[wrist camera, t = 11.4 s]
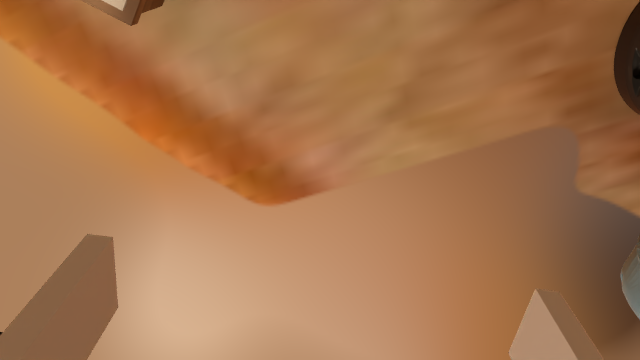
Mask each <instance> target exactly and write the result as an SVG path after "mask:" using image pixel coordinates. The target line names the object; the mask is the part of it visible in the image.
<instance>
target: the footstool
mask: <svg viewBox="0 0 640 360" xmlns="http://www.w3.org/2000/svg"><path fill="white" fill-rule="evenodd" d="M82 1H83V2H85V3H87V4H89V5H91V6H93V7H95V8H97V9H99V10H101V11H103V12H105V13H107V14H109V15H111V16H113V17H115V18H117V19H118V20H120V21H122V22H124V23H126V24H128V25H130V26H132V25H134V24H137V23H138V21H139V18H140V15H141V13H143V12H146V11H149V10H152V9H155V8H157V7H160V6H162V4H163V2H164V0H82Z"/></svg>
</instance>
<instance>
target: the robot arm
mask: <svg viewBox="0 0 640 360" xmlns="http://www.w3.org/2000/svg"><path fill="white" fill-rule="evenodd" d="M614 75H615V81H616V85H617V88H618V91H619V93H620V95H621V97H622V98H623V100H624V101H625V102H626V104H627V105H628V106H629V107H630V108H631V109H632V110H634V111H635V112H636V113H638V114H640V3H639V4H638V6H637V7H636V8H635V10H634V11H633V12H632V14H631V16H630V17H629V19H628V21H627V22H626V24H625V26H624V28H623V30H622V33H621V35H620V38H619V41H618V44H617V47H616V52H615V59H614ZM621 281H622V290H623V293H624V295H625V297H626V299H627V301H628V303H629V305H630V306H631V308H632V309H633V311H634V313H635V314H636V315H637V317H638V318H639V319H640V235H639V237H638V239H637V245H636V246H635V248H634V249H633V251H632V252H631V254H630V255H629V257H628V258H627V260H626V261H625V263H624V265H623V267H622V270H621ZM117 308H118V300H117V287H116V273H115V260H114V247H113V237H107V236H99V235H90V234H87V235H86V236H85V237H84V238H83V240H82V241H81V242H80V243H79V244H78V246H77V247H76V248H75V249H74V250H73V251H72V252H71V254H70V255H69V256H68V257H67V258H66V259H65V261H64V262H63V263H62V264H61V265H60V266H59V268H58V269H57V270H56V271H55V272H54V273H53V275H52V276H51V277H50V278H49V279H48V280H47V282H46V283H45V284H44V285H43V286H42V288H41V289H40V290H39V291H38V292H37V293H36V294H35V296H34V297H33V298H32V299H31V300H30V301H29V303H28V304H27V305H26V306H25V307H24V308H23V310H22V311H21V312H20V313H19V314H18V316H17V317H16V318H15V319H14V320H13V321H12V322H11V324H10V325H9V326H8V327H7V328H6V329H5V331H4V332H0V360H87V358H88V357H89V355H90V354H91V352H92V350H93V348H94V347H95V345H96V343H97V342H98V340H99V338H100V337H101V335H102V333H103V332H104V330H105V328H106V327H107V325H108V323H109V322H110V320H111V318H112V317H113V315H114V313H115V311H116V310H117ZM509 355H510V357H511V360H604V358H603V357H602V355H601V354H600V352H599V351H598V349H597V348H596V346H595V345H594V343H593V342H592V340H591V339H590V337H589V336H588V334H587V333H586V332H585V330H584V328H583V327H582V325H581V324H580V322H579V321H578V319H577V318H576V316H575V315H574V313H573V312H572V310H571V309H570V307H569V306H568V304H567V303H566V301H565V300H564V298H563V297H562V295H561V293H560V292H558V291H550V290H541V289H535V291H534V294H533V296H532V298H531V301H530V303H529V305H528V308H527V310H526V312H525V315H524V317H523V320H522V322H521V324H520V327H519V329H518V332H517V334H516V336H515V339H514V341H513V343H512V346H511V348H510V351H509Z"/></svg>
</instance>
